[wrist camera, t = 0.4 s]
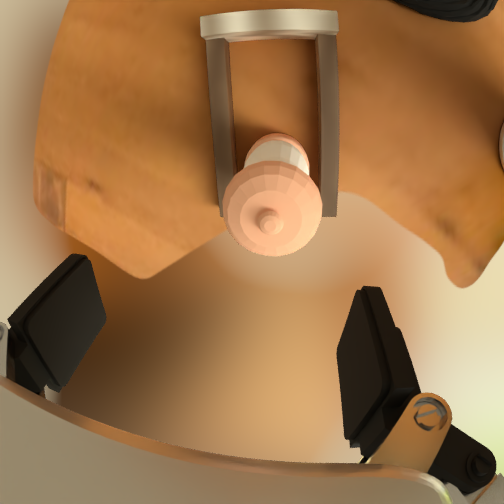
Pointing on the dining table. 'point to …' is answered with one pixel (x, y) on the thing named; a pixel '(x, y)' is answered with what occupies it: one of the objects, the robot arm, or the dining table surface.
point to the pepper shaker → (273, 198)
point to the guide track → (324, 32)
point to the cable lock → (452, 8)
